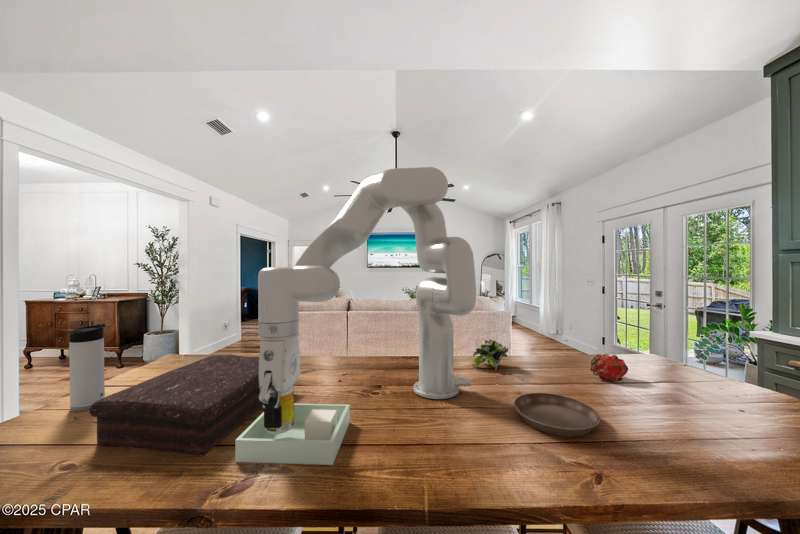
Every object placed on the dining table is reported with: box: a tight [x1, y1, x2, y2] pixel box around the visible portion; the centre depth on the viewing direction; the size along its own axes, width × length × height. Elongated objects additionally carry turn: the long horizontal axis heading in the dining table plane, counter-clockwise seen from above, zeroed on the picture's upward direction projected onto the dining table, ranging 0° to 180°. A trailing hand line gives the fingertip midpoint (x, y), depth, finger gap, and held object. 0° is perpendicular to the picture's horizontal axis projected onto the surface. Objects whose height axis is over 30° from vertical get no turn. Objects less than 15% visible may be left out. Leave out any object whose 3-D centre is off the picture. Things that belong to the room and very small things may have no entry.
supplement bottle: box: [265, 386, 295, 434], centre depth 66 cm, size 6×6×10 cm
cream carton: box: [305, 409, 337, 440], centre depth 66 cm, size 5×5×5 cm
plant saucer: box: [513, 392, 601, 438], centre depth 76 cm, size 18×18×3 cm
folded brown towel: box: [89, 354, 264, 457], centre depth 79 cm, size 34×26×10 cm
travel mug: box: [68, 323, 106, 413], centre depth 83 cm, size 6×7×20 cm
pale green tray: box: [234, 402, 351, 466], centre depth 66 cm, size 17×15×4 cm
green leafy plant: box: [472, 339, 509, 372], centre depth 113 cm, size 11×11×12 cm
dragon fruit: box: [589, 353, 629, 382], centre depth 102 cm, size 8×8×12 cm
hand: (279, 418), depth 66 cm, fingers closed on supplement bottle, 5 cm apart
